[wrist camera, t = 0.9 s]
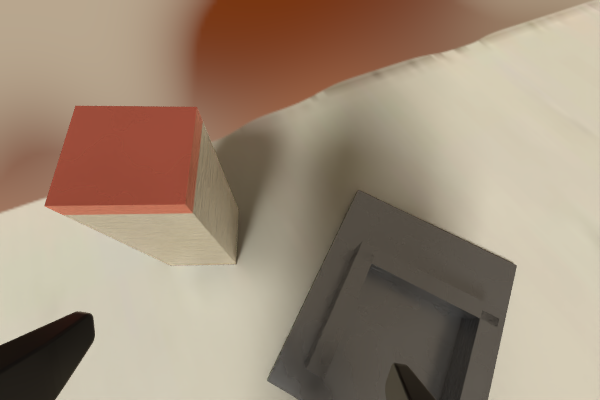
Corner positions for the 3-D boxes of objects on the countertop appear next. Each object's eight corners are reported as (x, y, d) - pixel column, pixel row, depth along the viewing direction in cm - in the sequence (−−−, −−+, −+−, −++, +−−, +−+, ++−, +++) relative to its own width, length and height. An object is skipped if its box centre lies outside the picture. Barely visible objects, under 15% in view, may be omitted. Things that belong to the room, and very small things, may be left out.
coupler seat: (462, 495, 18) (489, 521, 16) (267, 379, 20) (265, 387, 18) (513, 266, 24) (538, 260, 22) (357, 191, 26) (364, 178, 24)
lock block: (236, 264, 23) (185, 204, 11) (170, 265, 23) (44, 206, 11) (239, 207, 25) (197, 102, 13) (178, 208, 24) (76, 101, 12)
